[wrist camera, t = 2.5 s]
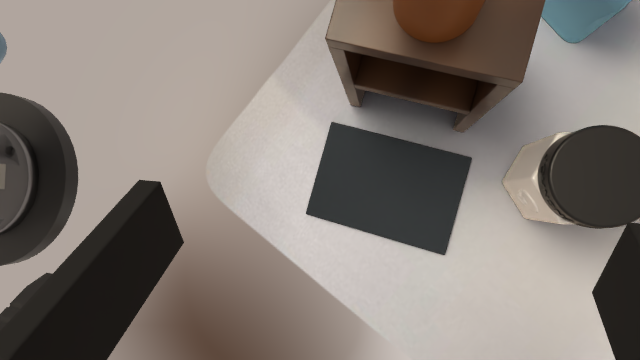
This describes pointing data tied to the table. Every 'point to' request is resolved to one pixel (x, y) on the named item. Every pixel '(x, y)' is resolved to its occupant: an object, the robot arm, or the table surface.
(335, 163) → the mat
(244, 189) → the table surface
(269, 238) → the table surface
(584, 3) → the blue doll chair
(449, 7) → the spice bottle
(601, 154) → the jar
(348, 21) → the block
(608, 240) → the table surface
